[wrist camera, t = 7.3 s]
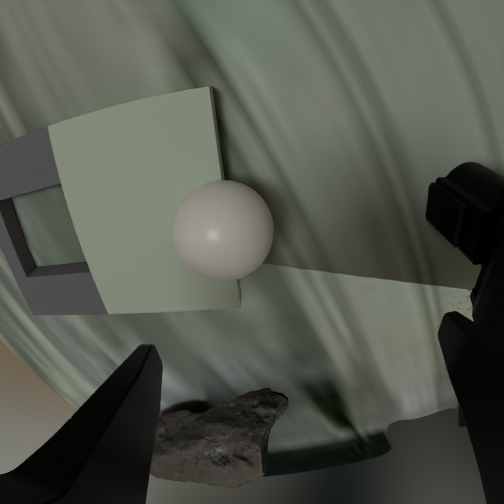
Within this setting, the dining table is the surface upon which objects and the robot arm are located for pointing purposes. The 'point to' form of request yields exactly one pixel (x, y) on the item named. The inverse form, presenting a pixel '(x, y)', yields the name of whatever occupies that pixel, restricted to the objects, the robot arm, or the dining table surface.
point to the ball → (223, 230)
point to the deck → (118, 206)
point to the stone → (218, 441)
